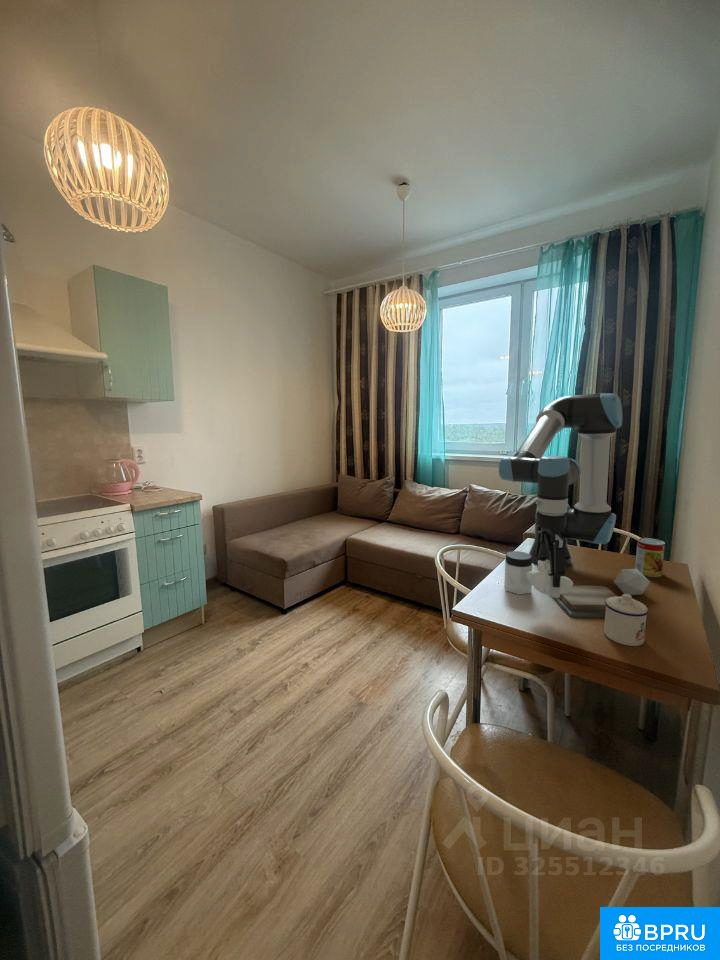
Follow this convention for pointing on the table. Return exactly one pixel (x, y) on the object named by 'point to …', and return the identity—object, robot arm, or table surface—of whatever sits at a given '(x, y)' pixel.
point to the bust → (547, 579)
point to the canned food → (650, 556)
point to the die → (631, 581)
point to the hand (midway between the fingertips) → (548, 589)
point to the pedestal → (585, 601)
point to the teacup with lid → (625, 620)
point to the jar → (517, 572)
